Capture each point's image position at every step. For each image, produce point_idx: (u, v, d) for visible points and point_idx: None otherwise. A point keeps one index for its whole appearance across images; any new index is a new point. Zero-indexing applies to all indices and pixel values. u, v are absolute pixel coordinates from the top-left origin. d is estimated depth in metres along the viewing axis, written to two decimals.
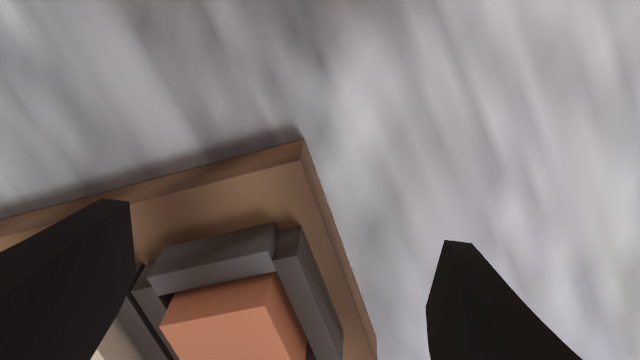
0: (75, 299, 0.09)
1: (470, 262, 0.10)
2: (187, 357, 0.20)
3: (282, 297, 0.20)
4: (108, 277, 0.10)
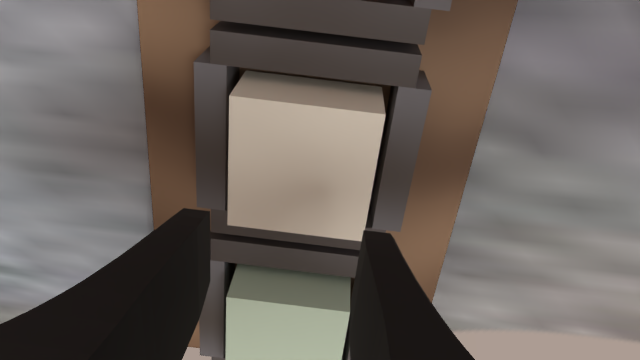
0: (171, 311, 0.09)
1: (380, 251, 0.10)
2: None
3: None
4: (193, 288, 0.10)
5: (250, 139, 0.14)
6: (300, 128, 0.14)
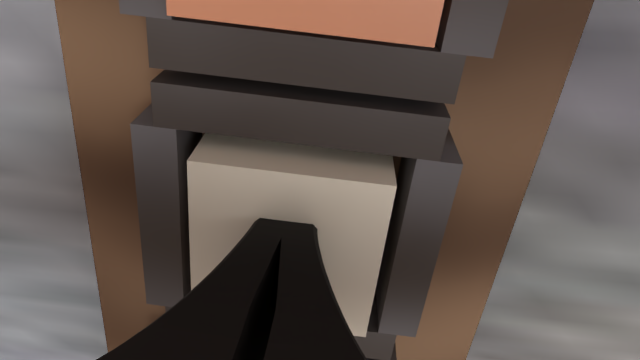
0: (261, 322, 0.09)
1: (295, 240, 0.10)
2: (280, 6, 0.08)
3: None
4: (274, 297, 0.10)
5: (216, 214, 0.11)
6: (283, 202, 0.11)
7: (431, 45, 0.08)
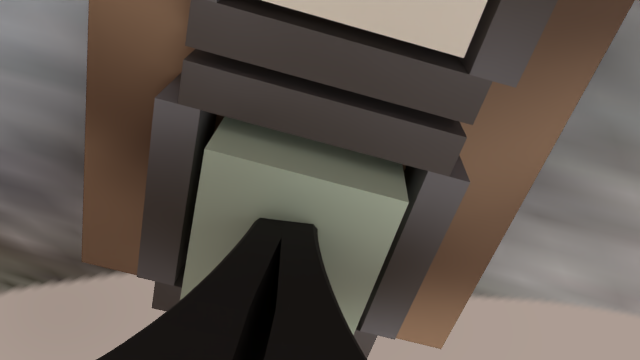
0: (261, 322, 0.09)
1: (295, 240, 0.10)
2: None
3: None
4: (274, 297, 0.10)
5: None
6: None
7: None
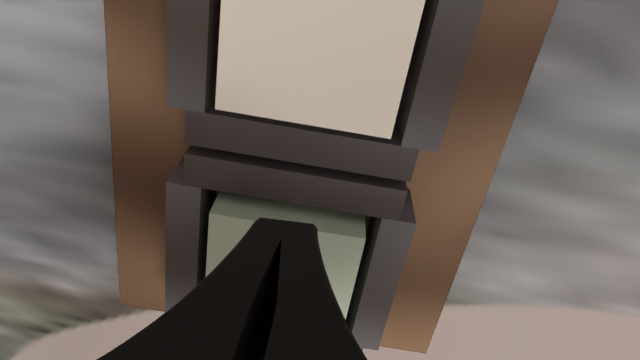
0: (261, 322, 0.09)
1: (295, 241, 0.10)
2: None
3: None
4: (274, 297, 0.10)
5: None
6: None
7: None
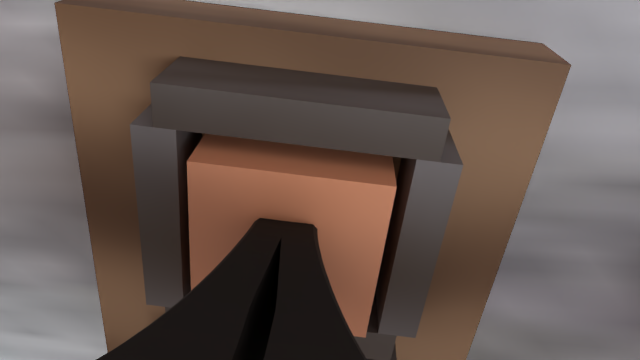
0: (261, 322, 0.09)
1: (295, 241, 0.10)
2: None
3: None
4: (274, 297, 0.10)
5: None
6: None
7: (363, 336, 0.12)
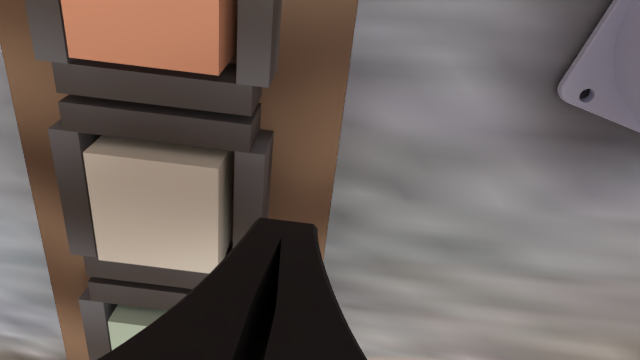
0: (262, 322, 0.09)
1: (295, 241, 0.10)
2: (130, 52, 0.14)
3: None
4: (274, 297, 0.10)
5: (106, 188, 0.17)
6: (147, 180, 0.16)
7: (217, 74, 0.14)
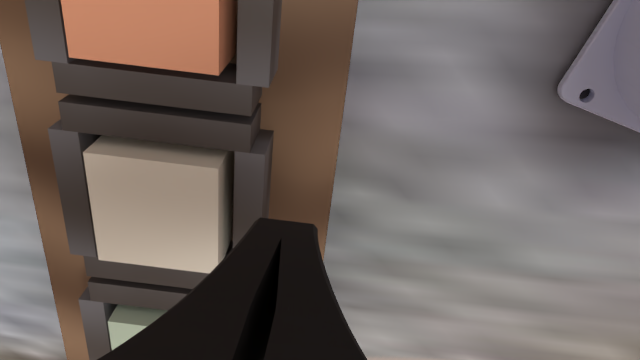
0: (262, 322, 0.09)
1: (295, 241, 0.10)
2: (130, 52, 0.14)
3: None
4: (274, 297, 0.10)
5: (106, 188, 0.17)
6: (147, 180, 0.16)
7: (217, 74, 0.14)
